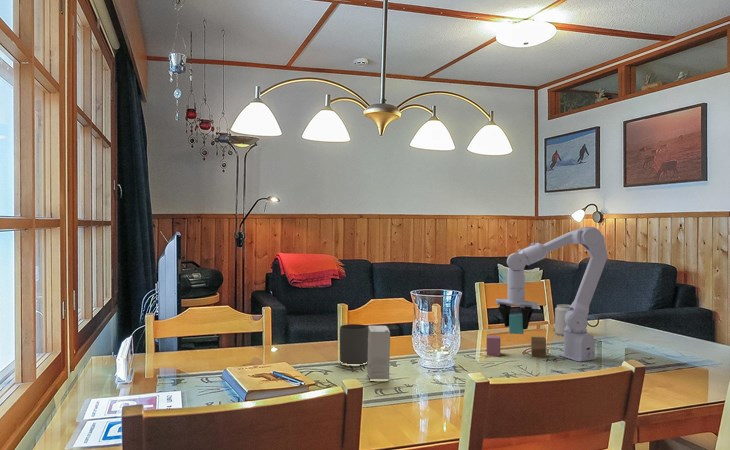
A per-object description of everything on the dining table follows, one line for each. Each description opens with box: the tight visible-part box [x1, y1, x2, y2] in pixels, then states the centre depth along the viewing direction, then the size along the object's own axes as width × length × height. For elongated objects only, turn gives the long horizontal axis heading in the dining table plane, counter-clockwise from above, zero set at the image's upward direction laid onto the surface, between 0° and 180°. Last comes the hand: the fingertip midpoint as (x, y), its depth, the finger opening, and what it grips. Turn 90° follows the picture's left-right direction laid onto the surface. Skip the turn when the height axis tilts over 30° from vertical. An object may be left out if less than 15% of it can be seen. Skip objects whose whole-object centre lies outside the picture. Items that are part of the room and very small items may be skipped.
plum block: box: [486, 334, 501, 357], centre depth 193 cm, size 4×4×6 cm
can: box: [554, 303, 571, 337], centre depth 226 cm, size 8×8×12 cm
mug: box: [339, 323, 368, 364], centre depth 183 cm, size 14×9×12 cm
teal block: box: [508, 313, 525, 335], centre depth 192 cm, size 4×4×6 cm
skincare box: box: [366, 325, 391, 380], centre depth 164 cm, size 8×6×15 cm
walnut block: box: [530, 336, 547, 359], centre depth 191 cm, size 4×4×6 cm
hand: (516, 327), depth 192 cm, fingers closed on teal block, 6 cm apart
